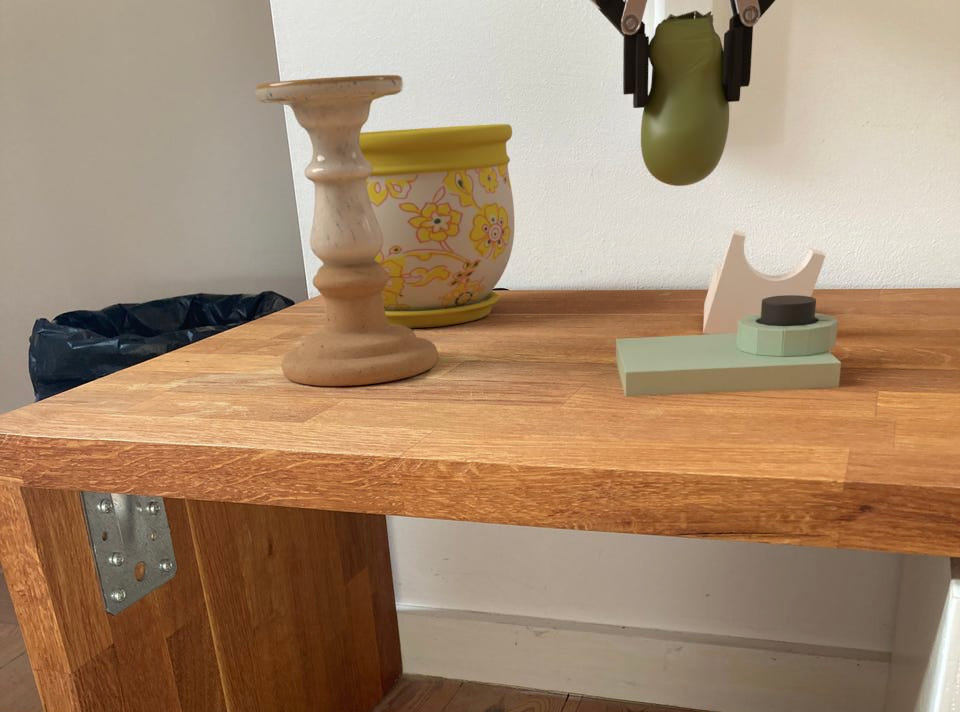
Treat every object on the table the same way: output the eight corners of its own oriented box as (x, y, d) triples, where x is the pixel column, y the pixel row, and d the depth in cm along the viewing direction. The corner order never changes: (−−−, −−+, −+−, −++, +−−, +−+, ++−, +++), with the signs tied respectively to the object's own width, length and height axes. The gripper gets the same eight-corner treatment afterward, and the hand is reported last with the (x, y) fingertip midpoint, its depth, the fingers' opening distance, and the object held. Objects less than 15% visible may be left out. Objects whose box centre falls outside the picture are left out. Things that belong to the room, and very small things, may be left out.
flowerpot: (469, 338, 90) (456, 129, 82) (299, 331, 97) (273, 139, 90) (547, 302, 104) (542, 121, 97) (394, 298, 111) (378, 130, 104)
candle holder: (468, 357, 83) (450, 72, 73) (371, 393, 74) (336, 74, 65) (352, 347, 89) (322, 84, 80) (250, 379, 80) (202, 87, 71)
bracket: (790, 354, 81) (825, 255, 77) (703, 332, 82) (733, 233, 78) (781, 322, 92) (811, 235, 89) (704, 303, 93) (730, 216, 89)
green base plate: (812, 352, 77) (816, 304, 76) (850, 387, 68) (856, 333, 66) (615, 361, 79) (615, 314, 77) (625, 397, 69) (625, 344, 67)
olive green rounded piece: (731, 182, 69) (744, 8, 64) (714, 189, 65) (727, 2, 60) (649, 182, 71) (657, 13, 66) (628, 189, 67) (634, 9, 62)
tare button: (807, 319, 73) (809, 294, 72) (819, 329, 70) (821, 302, 69) (755, 322, 73) (757, 296, 72) (765, 332, 70) (767, 305, 69)
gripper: (542, -270, 55) (551, 113, 63) (871, -301, 53) (836, 95, 62) (543, -229, 61) (551, 113, 70) (835, -256, 60) (808, 96, 68)
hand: (685, 101), depth 65 cm, fingers closed on olive green rounded piece, 5 cm apart
